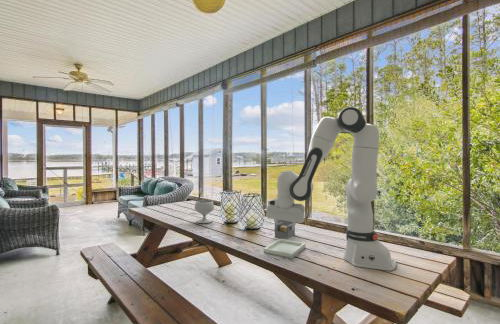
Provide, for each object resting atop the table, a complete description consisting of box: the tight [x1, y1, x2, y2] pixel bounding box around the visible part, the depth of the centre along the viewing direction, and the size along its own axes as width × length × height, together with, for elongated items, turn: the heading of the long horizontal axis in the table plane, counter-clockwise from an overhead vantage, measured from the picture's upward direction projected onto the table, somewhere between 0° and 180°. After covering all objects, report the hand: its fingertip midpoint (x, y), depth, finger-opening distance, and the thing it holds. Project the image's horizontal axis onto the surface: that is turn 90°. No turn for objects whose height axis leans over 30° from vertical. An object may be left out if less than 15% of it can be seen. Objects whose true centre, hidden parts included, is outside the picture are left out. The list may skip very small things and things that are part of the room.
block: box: [280, 225, 287, 232], centre depth 142 cm, size 4×4×4 cm
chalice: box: [194, 199, 215, 224], centre depth 202 cm, size 14×14×15 cm
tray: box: [263, 238, 306, 260], centre depth 143 cm, size 15×19×2 cm
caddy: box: [276, 222, 294, 239], centre depth 142 cm, size 6×6×6 cm
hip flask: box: [274, 220, 296, 239], centre depth 169 cm, size 16×4×20 cm, turn 128°
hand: (284, 228), depth 142 cm, fingers closed on caddy, 6 cm apart
